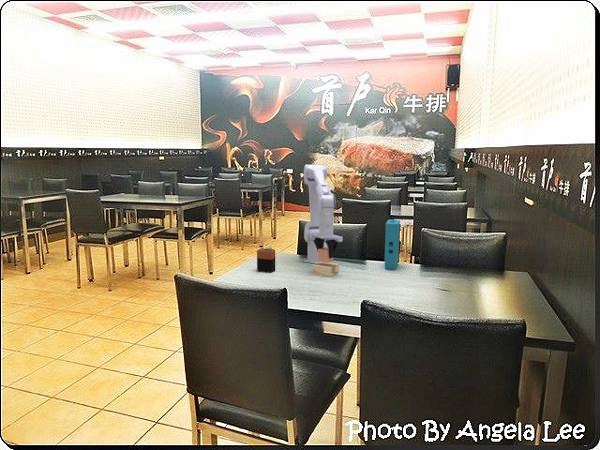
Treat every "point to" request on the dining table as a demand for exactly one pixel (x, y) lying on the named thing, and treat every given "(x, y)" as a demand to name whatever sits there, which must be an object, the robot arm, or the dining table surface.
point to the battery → (266, 260)
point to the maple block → (325, 269)
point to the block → (392, 244)
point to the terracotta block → (324, 255)
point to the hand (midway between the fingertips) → (325, 257)
